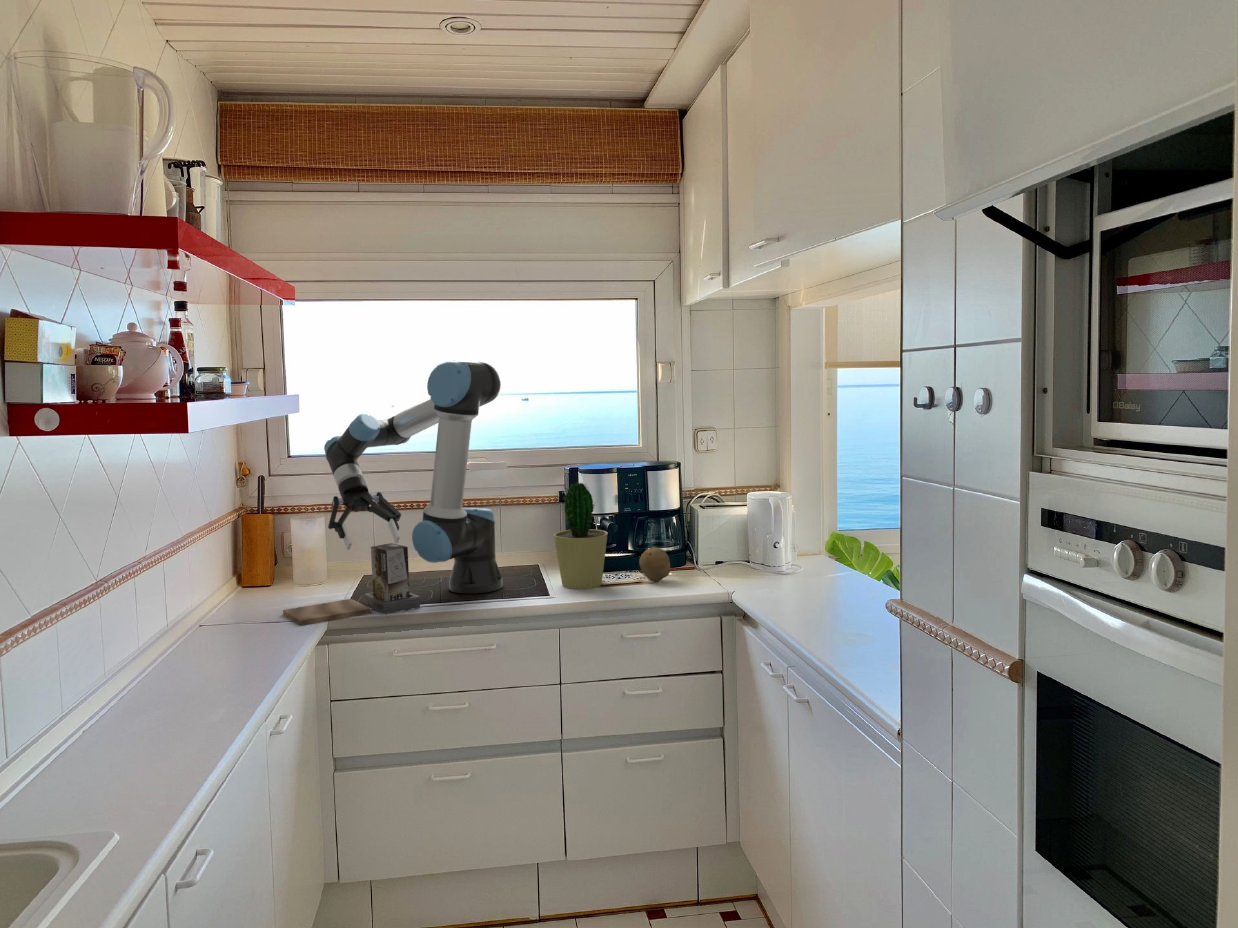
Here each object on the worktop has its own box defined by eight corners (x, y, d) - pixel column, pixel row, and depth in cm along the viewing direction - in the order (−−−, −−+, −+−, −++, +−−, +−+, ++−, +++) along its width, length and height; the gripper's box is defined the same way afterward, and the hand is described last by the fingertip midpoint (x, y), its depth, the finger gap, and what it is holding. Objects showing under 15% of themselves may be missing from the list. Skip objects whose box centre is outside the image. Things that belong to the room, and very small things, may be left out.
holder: (399, 598, 252) (399, 587, 252) (420, 607, 242) (419, 596, 241) (364, 604, 246) (363, 593, 246) (383, 614, 236) (383, 602, 235)
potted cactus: (616, 587, 260) (614, 481, 257) (563, 592, 255) (560, 484, 252) (599, 576, 274) (596, 476, 271) (549, 581, 269) (545, 479, 266)
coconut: (641, 577, 271) (640, 544, 270) (671, 577, 270) (670, 544, 269) (638, 584, 262) (637, 550, 261) (670, 584, 261) (669, 550, 260)
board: (351, 602, 248) (350, 598, 248) (371, 612, 237) (370, 608, 237) (282, 614, 238) (282, 609, 238) (300, 625, 227) (300, 620, 226)
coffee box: (411, 607, 243) (408, 546, 241) (389, 611, 238) (386, 549, 237) (394, 601, 249) (392, 542, 248) (372, 605, 245) (369, 545, 244)
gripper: (389, 488, 270) (413, 545, 260) (304, 496, 255) (325, 557, 245) (396, 471, 265) (420, 529, 255) (309, 478, 251) (331, 540, 240)
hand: (374, 543), depth 250 cm, fingers open, 13 cm apart
